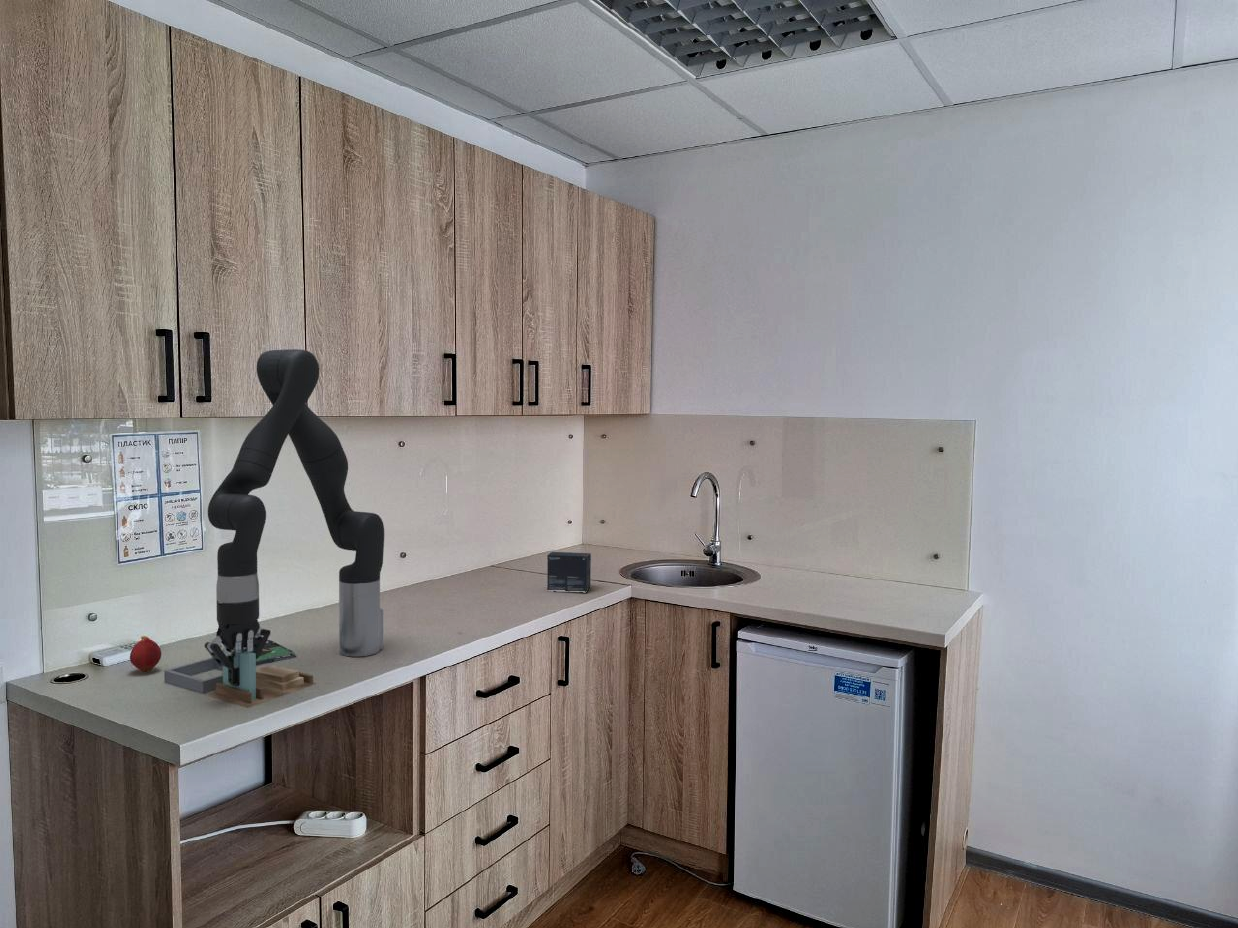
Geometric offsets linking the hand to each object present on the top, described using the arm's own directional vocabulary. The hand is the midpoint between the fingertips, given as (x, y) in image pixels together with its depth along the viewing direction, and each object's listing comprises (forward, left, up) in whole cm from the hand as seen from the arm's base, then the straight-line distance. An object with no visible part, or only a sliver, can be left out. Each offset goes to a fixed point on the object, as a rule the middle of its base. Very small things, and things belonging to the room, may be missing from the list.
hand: (239, 683), depth 160 cm
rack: (-5, 0, -4) cm, 6 cm away
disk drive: (-20, -20, -4) cm, 28 cm away
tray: (-3, -14, -4) cm, 14 cm away
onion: (-1, -33, -4) cm, 33 cm away
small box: (-118, 0, -4) cm, 118 cm away
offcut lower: (-9, 0, -3) cm, 9 cm away
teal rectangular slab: (0, 0, -2) cm, 2 cm away
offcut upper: (-9, -1, -1) cm, 9 cm away
